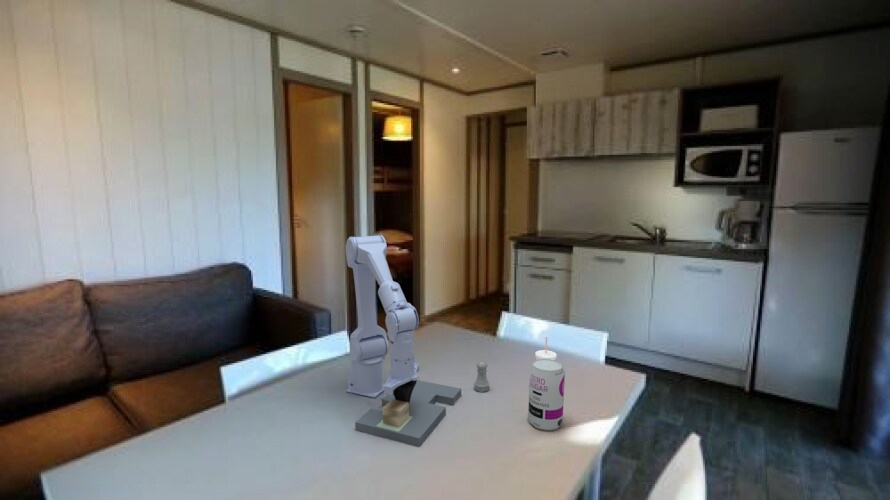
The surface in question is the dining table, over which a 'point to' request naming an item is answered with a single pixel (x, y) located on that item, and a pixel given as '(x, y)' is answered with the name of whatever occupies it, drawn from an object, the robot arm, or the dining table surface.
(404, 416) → the oak block
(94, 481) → the dining table surface
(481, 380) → the rook chess piece
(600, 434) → the dining table surface
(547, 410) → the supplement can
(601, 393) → the dining table surface
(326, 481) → the dining table surface
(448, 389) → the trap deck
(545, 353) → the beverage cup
